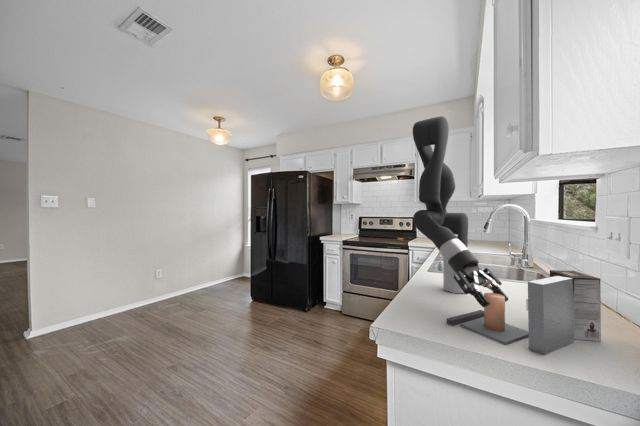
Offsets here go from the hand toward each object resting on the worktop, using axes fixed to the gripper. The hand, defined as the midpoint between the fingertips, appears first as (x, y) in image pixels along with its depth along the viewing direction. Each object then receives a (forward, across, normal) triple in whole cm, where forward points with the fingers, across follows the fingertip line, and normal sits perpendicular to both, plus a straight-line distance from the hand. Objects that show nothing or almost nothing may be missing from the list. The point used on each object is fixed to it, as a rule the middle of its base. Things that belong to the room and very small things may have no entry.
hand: (496, 303), depth 69 cm
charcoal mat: (+5, 0, +6) cm, 8 cm away
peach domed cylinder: (+4, 0, +5) cm, 7 cm away
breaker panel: (+13, +4, -2) cm, 13 cm away
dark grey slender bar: (0, 0, +12) cm, 12 cm away
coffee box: (+12, +18, -1) cm, 22 cm away
